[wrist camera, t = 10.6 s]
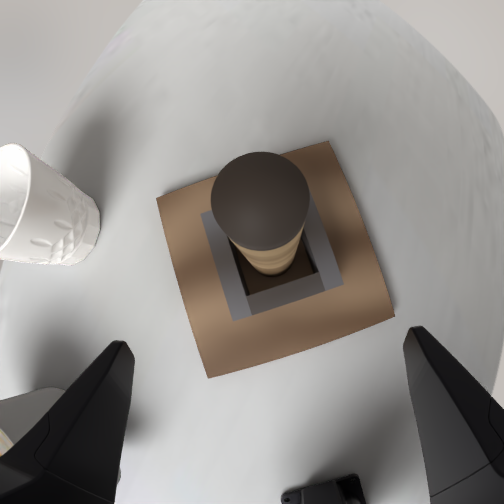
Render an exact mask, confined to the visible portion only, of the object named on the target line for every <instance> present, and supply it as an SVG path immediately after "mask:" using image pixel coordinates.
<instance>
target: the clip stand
mask: <svg viewBox="0 0 504 504" xmlns="http://www.w3.org/2000/svg"><path fill="white" fill-rule="evenodd" d="M280 156H283V157H285V158H286V159H288V160H290V161H291V162H292V163H294V164H295V165H296V166H297V167H298V168H299V170H300V171H301V172H302V174H303V175H304V177H305V179H306V181H307V184H308V187H309V193H310V203H309V209H308V212H307V216H306V220H305V223H304V226H303V230H302V233H301V237H300V240H299V244H298V247H297V250H296V254H295V257H294V261H293V263H292V266H291V267H290V269H289V270H288V271H287V272H286V273H284V274H283V275H280V276H277V277H267V276H264V275H262V274H260V273H259V272H258V271H257V270H256V269H255V268H254V267H253V266H252V264H251V263H250V262H249V261H248V260H247V258H246V257H245V256H244V255H243V254H242V253H241V251H240V250H239V249H238V248H237V247H236V246H235V244H234V243H233V242H232V241H231V240H230V238H229V237H228V236H227V235H226V234H225V233H224V231H223V230H222V229H221V228H220V226H219V225H218V224H217V222H216V220H215V218H214V215H213V213H212V208H211V191H212V187H213V184H214V182H215V179H216V177H217V176H218V175H217V176H214V177H211V178H209V179H206V180H203V181H200V182H198V183H195V184H192V185H189V186H187V187H184V188H181V189H179V190H176V191H173V192H171V193H168V194H166V195H163V196H160V197H158V198H156V200H157V204H158V208H159V213H160V217H161V221H162V225H163V229H164V233H165V237H166V241H167V245H168V248H169V252H170V256H171V260H172V263H173V267H174V271H175V274H176V278H177V281H178V285H179V288H180V292H181V295H182V299H183V302H184V305H185V309H186V312H187V315H188V319H189V322H190V325H191V328H192V332H193V335H194V338H195V341H196V344H197V347H198V350H199V353H200V356H201V359H202V362H203V365H204V368H205V371H206V374H207V377H208V379H209V378H213V377H217V376H220V375H224V374H228V373H232V372H235V371H239V370H243V369H246V368H250V367H253V366H257V365H260V364H263V363H267V362H270V361H273V360H277V359H280V358H283V357H286V356H289V355H292V354H295V353H299V352H302V351H305V350H308V349H311V348H313V347H316V346H319V345H322V344H325V343H328V342H331V341H333V340H336V339H339V338H342V337H344V336H347V335H350V334H352V333H355V332H358V331H360V330H363V329H365V328H368V327H370V326H373V325H375V324H378V323H380V322H383V321H385V320H388V319H390V318H392V317H395V314H394V310H393V307H392V304H391V300H390V297H389V294H388V291H387V288H386V285H385V282H384V279H383V276H382V273H381V270H380V267H379V264H378V261H377V258H376V255H375V252H374V250H373V247H372V244H371V241H370V239H369V236H368V233H367V231H366V228H365V225H364V223H363V220H362V218H361V215H360V212H359V210H358V207H357V205H356V202H355V200H354V197H353V195H352V193H351V190H350V188H349V185H348V183H347V181H346V178H345V176H344V174H343V171H342V169H341V167H340V165H339V162H338V160H337V158H336V156H335V154H334V151H333V149H332V147H331V145H330V143H329V141H326V142H322V143H319V144H315V145H312V146H308V147H305V148H301V149H298V150H294V151H291V152H288V153H284V154H281V155H280Z"/></svg>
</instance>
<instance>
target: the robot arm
mask: <svg viewBox="0 0 504 504" xmlns="http://www.w3.org/2000/svg"><path fill="white" fill-rule="evenodd" d="M403 351H404V357H405V363H406V370H407V377H408V385H409V391H410V396H411V400H412V404H413V408H414V413H415V417H416V422H417V426H418V431H419V436H420V441H421V446H422V451H423V457H424V462H425V468H426V474H427V480H428V487H429V494H430V502H431V504H504V409H503V408H502V407H501V406H500V405H499V404H498V403H497V402H496V401H495V400H494V398H493V397H491V395H490V394H489V393H488V392H487V391H486V390H485V389H484V388H483V387H482V386H481V385H480V383H479V382H478V381H477V380H476V379H475V378H474V377H473V376H472V375H471V374H470V373H469V372H468V371H467V370H466V369H465V368H464V367H463V366H462V365H461V364H460V363H459V362H458V361H457V360H456V359H455V358H454V357H453V356H452V355H451V354H450V353H449V351H448V350H447V349H446V348H445V347H444V346H443V345H441V344H440V343H439V342H438V341H437V340H436V339H435V338H434V337H433V336H432V335H431V334H430V333H429V332H428V331H427V330H426V329H425V328H424V327H423V326H414V327H411V328H410V329H409V330H408V333H407V336H406V338H405V341H404V344H403ZM134 364H135V358H134V355H133V353H132V351H131V350H130V348H129V346H128V345H127V343H126V342H125V341H118V340H115V341H113V342H111V343H110V344H109V345H108V346H107V347H106V349H105V350H104V351H103V352H102V353H101V354H100V355H99V356H98V357H97V358H96V359H95V360H94V361H93V362H92V363H91V364H90V365H89V366H88V368H87V369H86V370H85V371H84V372H83V373H82V374H81V375H80V376H79V377H78V378H77V379H76V380H75V382H74V383H73V384H72V385H71V386H70V387H69V388H68V389H67V390H66V391H65V392H64V393H63V395H62V396H61V397H60V398H59V399H58V400H57V401H56V402H55V403H54V404H53V406H52V407H51V408H50V409H49V411H47V412H46V413H45V414H44V415H43V417H42V418H41V419H40V420H39V421H38V422H37V423H36V424H35V425H34V426H33V427H32V428H31V429H30V430H29V431H28V432H27V433H26V434H25V435H24V436H23V437H22V438H21V439H20V440H19V441H18V442H16V443H15V444H14V445H13V446H12V447H11V448H10V449H9V450H8V451H7V452H6V453H4V454H3V455H2V456H0V504H114V502H115V495H116V487H117V480H118V473H119V466H120V460H121V453H122V447H123V441H124V436H125V430H126V425H127V419H128V414H129V409H130V403H131V395H132V384H133V374H134ZM354 478H355V480H354V481H351V479H354ZM285 498H289V499H288V500H286V499H285ZM281 503H282V504H366V502H365V498H364V494H363V491H362V487H361V483H360V479H359V477H358V475H357V474H351V475H348V476H345V477H342V478H339V479H336V480H331V481H327V482H324V483H321V484H317V485H314V486H310V487H306V488H303V489H301V490H297V491H293V492H289V493H285V494H283V495H282V496H281Z"/></svg>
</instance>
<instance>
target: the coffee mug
mask: <svg viewBox="0 0 504 504" xmlns="http://www.w3.org/2000/svg"><path fill="white" fill-rule="evenodd" d="M64 392H65V390H63V389H60V388H56V387H46V388H42V389H39V390H35V391H32V392H28V393H25V394H21V395H18V396H14V397H11V398H7V399H4V400H0V456H2V455H3V454H4V453H6V452H7V451H8V450H9V449H10V448H11V447H12V446H13V445H14V444H15V443H16V442H18V441H19V440H20V439H21V438H22V437H23V436H24V435H25V434H26V433H27V432H28V431H29V430H30V429H31V428H32V427H33V426H34V425H35V424H36V423H37V422H38V421H39V420H40V419H41V418H42V417H43V415H44V414H45V413H46V412H47V411H49V409H50V408H51V407H52V406H53V404H54V403H55V402H56V401H57V400H58V399H59V398H60V397H61V396H62V395H63V393H64ZM120 478H121V470H120V466H119V473H118V480H117V484H118V482H119V481H120Z"/></svg>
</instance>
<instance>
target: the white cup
mask: <svg viewBox="0 0 504 504" xmlns="http://www.w3.org/2000/svg"><path fill="white" fill-rule="evenodd" d="M99 231H100V212H99V210H98V208H97V206H96V204H95V202H94V200H93V199H92V198H91V197H89V196H88V195H86V194H85V193H83V192H82V191H81V190H79V189H78V188H77V187H76V186H75V185H74V184H73V183H72V182H70V181H69V180H68V179H67V178H66V177H64V176H63V175H61V174H60V173H59V172H58V171H56V170H55V169H54V168H52V167H50V166H49V165H48V164H46V163H45V162H43V161H42V160H41V159H39V158H38V157H36V156H35V155H34V154H32V153H31V152H30V151H28V150H27V149H26V148H24V147H23V146H21V145H20V144H17V143H10V144H6V145H4V146H2V147H0V259H1V260H9V261H16V262H22V263H34V264H45V265H48V264H60V265H69V266H72V265H74V264H76V263H78V262H80V261H82V260H84V259H85V258H86V257H87V255H88V254H89V253H90V251H91V250H92V249H93V248H94V246H95V243H96V240H97V237H98V234H99Z"/></svg>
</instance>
